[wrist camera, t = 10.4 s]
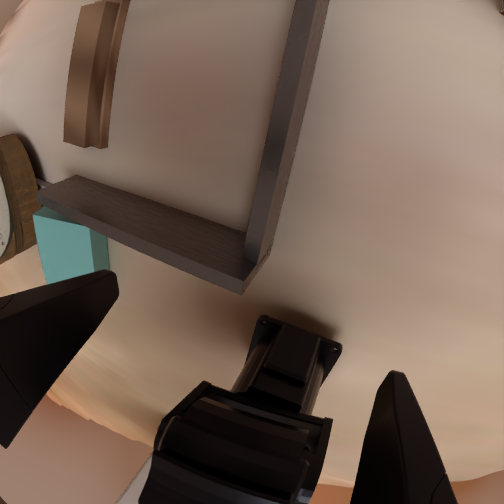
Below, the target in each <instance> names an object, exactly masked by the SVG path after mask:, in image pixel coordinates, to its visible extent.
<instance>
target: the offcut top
mask: <svg viewBox="0 0 504 504" xmlns="http://www.w3.org/2000/svg"><path fill="white" fill-rule="evenodd" d="M119 6H120V4H119V3H114V2H108V1H104V2H99V3H94V4H89V5H85V6H81V10H80V14H79V19H78V23H77V28H76V33H75V38H74V43H73V49H72V55H71V61H70V68H69V75H68V83H67V93H66V103H65V117H64V139H63V141H64V142H67V143H70V144H73V145H76V146H79V147H83V148H87V147H90V146H94V145H97V144H98V137H99V125H100V114H101V104H102V96H103V88H104V81H105V74H106V68H107V62H108V56H109V51H110V46H111V41H112V36H113V31H114V27H115V22H116V18H117V14H118V10H119Z"/></svg>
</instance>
